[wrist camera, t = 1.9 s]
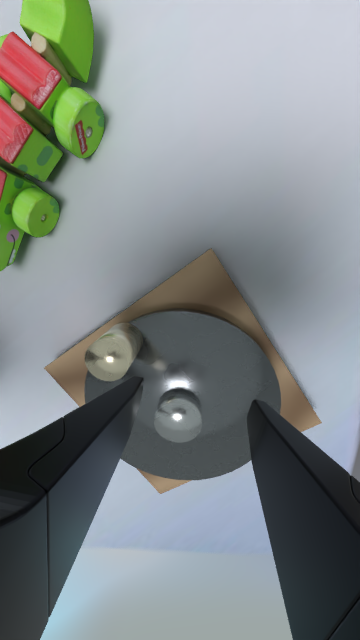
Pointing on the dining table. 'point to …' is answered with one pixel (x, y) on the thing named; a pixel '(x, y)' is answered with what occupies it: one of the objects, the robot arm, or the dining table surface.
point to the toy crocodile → (42, 113)
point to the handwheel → (185, 390)
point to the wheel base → (200, 294)
